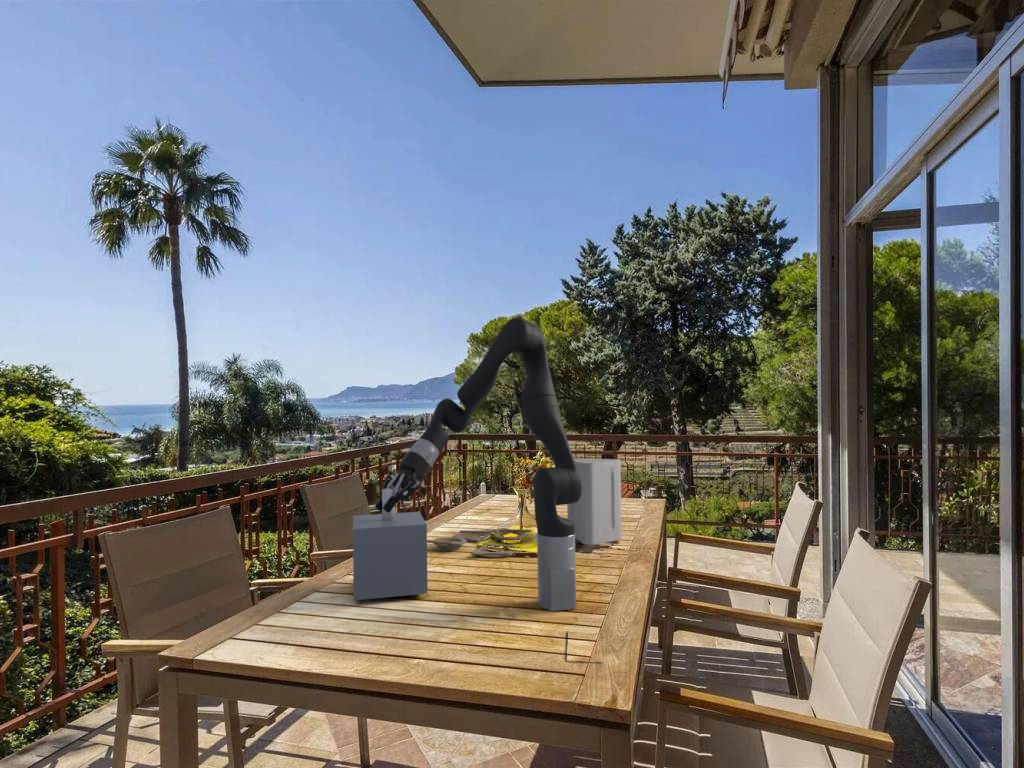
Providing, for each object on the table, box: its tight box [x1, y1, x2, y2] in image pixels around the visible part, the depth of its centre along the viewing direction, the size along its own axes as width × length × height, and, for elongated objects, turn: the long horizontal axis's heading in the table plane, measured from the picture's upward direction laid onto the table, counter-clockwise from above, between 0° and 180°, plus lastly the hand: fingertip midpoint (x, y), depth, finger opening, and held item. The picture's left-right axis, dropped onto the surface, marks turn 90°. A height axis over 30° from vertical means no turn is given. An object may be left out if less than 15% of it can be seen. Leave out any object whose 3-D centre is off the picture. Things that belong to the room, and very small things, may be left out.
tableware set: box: [427, 528, 532, 559], centre depth 209 cm, size 35×29×4 cm
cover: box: [352, 488, 428, 601], centre depth 159 cm, size 18×18×25 cm
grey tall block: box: [566, 458, 623, 546], centre depth 215 cm, size 19×15×28 cm
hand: (381, 509), depth 158 cm, fingers closed on cover, 3 cm apart
